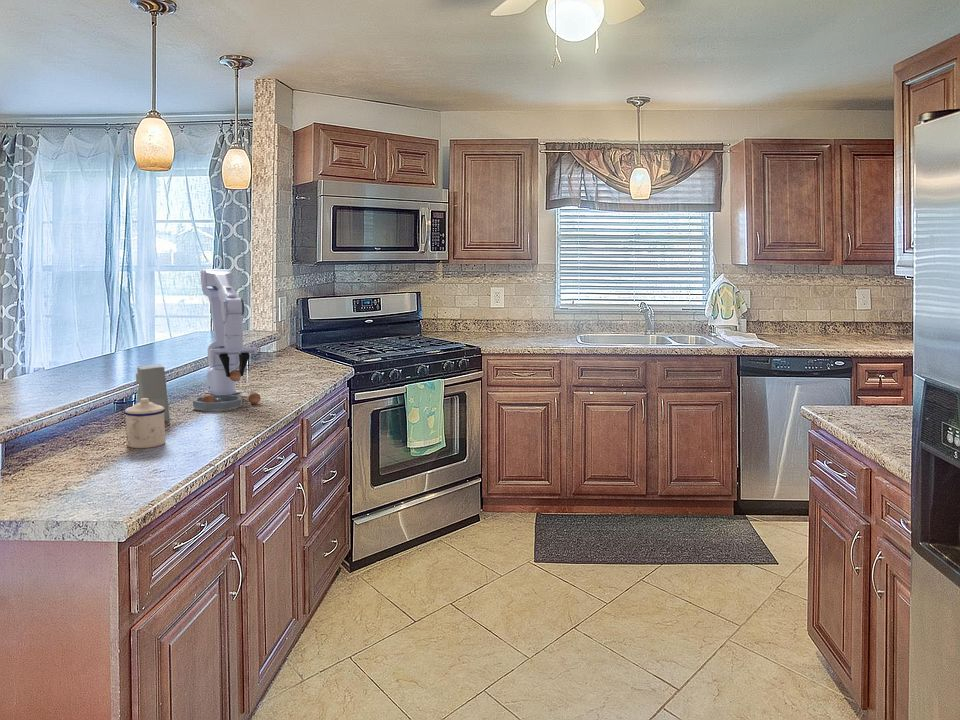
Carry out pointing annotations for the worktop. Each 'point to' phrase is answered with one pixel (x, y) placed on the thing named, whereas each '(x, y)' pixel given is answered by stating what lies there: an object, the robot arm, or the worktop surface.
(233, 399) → the groove tray
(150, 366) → the skincare box
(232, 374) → the bead
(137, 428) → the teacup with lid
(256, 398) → the bead
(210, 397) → the bead seated
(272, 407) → the worktop surface
